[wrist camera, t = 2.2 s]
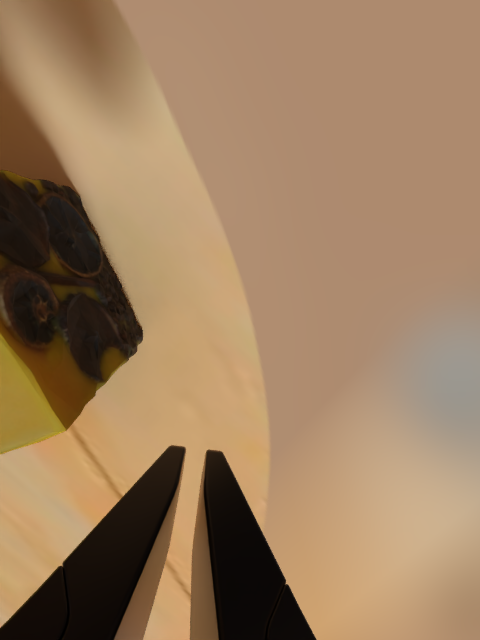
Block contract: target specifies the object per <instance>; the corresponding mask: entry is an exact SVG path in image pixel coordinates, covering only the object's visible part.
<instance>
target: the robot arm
mask: <svg viewBox="0 0 480 640" xmlns="http://www.w3.org/2000/svg"><path fill="white" fill-rule="evenodd" d="M185 454H186V448H185V447H183V446H174V445H171V446H169V447H168V448H167V449H166V450H165V452H164V453H163V454H162V455H161V456H160V457H159V458H158V459H157V460H156V461H155V462H154V464H153V465H152V466H151V467H150V468H149V469H148V470H147V471H146V472H145V473H144V474H143V476H142V477H141V478H140V479H139V480H138V481H137V482H136V483H135V484H134V485H133V486H132V487H131V489H130V490H129V491H128V492H127V493H126V494H125V495H124V496H123V497H122V498H121V499H120V501H119V502H118V503H117V504H116V505H115V506H114V507H113V508H112V509H111V510H110V511H109V513H108V514H107V515H106V516H105V517H104V518H103V519H102V520H101V521H100V522H99V523H98V525H97V526H96V527H95V528H94V529H93V530H92V531H91V532H90V533H89V534H88V535H87V536H86V538H85V539H84V540H83V541H82V542H81V543H80V544H79V545H78V546H77V547H76V548H75V550H74V551H73V552H72V553H71V554H70V555H69V556H68V557H67V558H66V559H65V560H64V562H63V565H62V566H59V567H58V568H57V569H56V570H55V571H54V572H53V573H52V574H51V575H50V577H49V578H48V579H47V580H46V581H45V582H44V583H43V584H42V585H41V586H40V587H39V589H38V590H37V591H36V592H35V593H34V594H33V595H32V596H31V597H30V598H29V599H28V600H27V601H26V602H25V603H24V604H23V605H22V606H21V607H20V608H19V609H18V610H17V611H16V612H15V614H14V615H13V616H12V617H11V618H10V619H9V620H8V621H7V622H6V623H5V624H4V625H3V626H2V627H1V628H0V640H143V637H144V634H145V630H146V627H147V623H148V620H149V616H150V613H151V609H152V606H153V602H154V599H155V595H156V592H157V589H158V585H159V582H160V578H161V575H162V571H163V568H164V564H165V561H166V557H167V553H168V549H169V545H170V540H171V535H172V530H173V524H174V519H175V513H176V508H177V502H178V497H179V491H180V485H181V480H182V474H183V467H184V460H185ZM285 584H286V579H285V577H284V576H283V573H282V571H281V569H280V567H279V565H278V563H277V561H276V559H275V557H274V555H273V553H272V551H271V549H270V547H269V545H268V543H267V541H266V539H265V537H264V535H263V533H262V531H261V529H260V527H259V525H258V523H257V521H256V519H255V517H254V515H253V513H252V511H251V509H250V507H249V505H248V503H247V500H246V498H245V496H244V494H243V492H242V490H241V488H240V486H239V484H238V482H237V480H236V478H235V476H234V474H233V472H232V470H231V468H230V466H229V464H228V462H227V460H226V458H225V456H224V454H223V452H221V451H216V450H207V451H206V455H205V460H204V466H203V472H202V478H201V485H200V493H199V501H198V508H197V516H196V524H195V532H194V540H193V550H192V575H191V617H190V640H316V638H315V636H314V634H313V633H312V630H311V628H310V627H309V625H308V623H307V621H306V619H305V617H304V615H303V613H302V611H301V609H300V607H299V605H298V604H297V601H296V599H295V597H294V595H293V593H292V591H291V589H290V587H289V585H287V584H286V585H285Z"/></svg>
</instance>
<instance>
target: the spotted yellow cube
mask: <svg viewBox="0 0 480 640" xmlns="http://www.w3.org/2000/svg"><path fill="white" fill-rule="evenodd" d="M121 288H122V285H121V284H120V282H119V281H118V279H117V277H116V275H115V273H114V271H113V270H112V268H111V266H110V264H109V262H108V260H107V258H106V256H105V254H104V252H103V250H102V248H101V246H100V243H99V238H98V236H97V235H96V233H95V232H94V231H93V230H92V228H91V226H90V223H89V220H88V218H87V215H86V213H85V211H84V210H83V207H82V203H81V199H80V197H79V196H78V195H77V194H76V193H75V192H74V191H73V190H72V189H71V188H70V187H67V186H60V185H56V184H55V183H53V182H51V181H47V180H32V179H28V178H25V177H22V176H19V175H17V174H15V173H12V172H10V171H6V170H0V454H3V453H6V452H9V451H12V450H15V449H18V448H21V447H25V446H28V445H31V444H34V443H38V442H41V441H43V440H45V439H48V438H50V437H52V436H55V435H57V434H59V433H62V432H64V431H66V430H67V429H68V428H69V427H70V426H71V425H72V423H73V422H74V421H75V420H76V419H77V417H78V416H79V415H80V414H81V412H82V410H83V408H84V406H85V405H86V404H87V403H88V402H89V401H90V400H91V399H92V398H93V397H94V396H95V393H96V391H97V390H98V389H99V388H100V387H102V386H103V385H104V384H105V383H106V382H107V381H108V380H109V378H110V377H111V376H112V375H113V374H114V373H115V371H116V370H117V369H118V368H119V367H120V366H122V365H123V364H124V363H126V362H127V361H128V360H129V358H130V357H131V356H133V355H134V354H135V353H136V352H137V346H138V344H140V343H141V342H142V340H143V330H142V329H141V328H140V327H138V325H137V322H136V320H135V318H134V314H133V310H132V309H131V308H130V306H129V305H128V304H127V301H126V298H125V296H124V294H123V292H122V291H121Z"/></svg>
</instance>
